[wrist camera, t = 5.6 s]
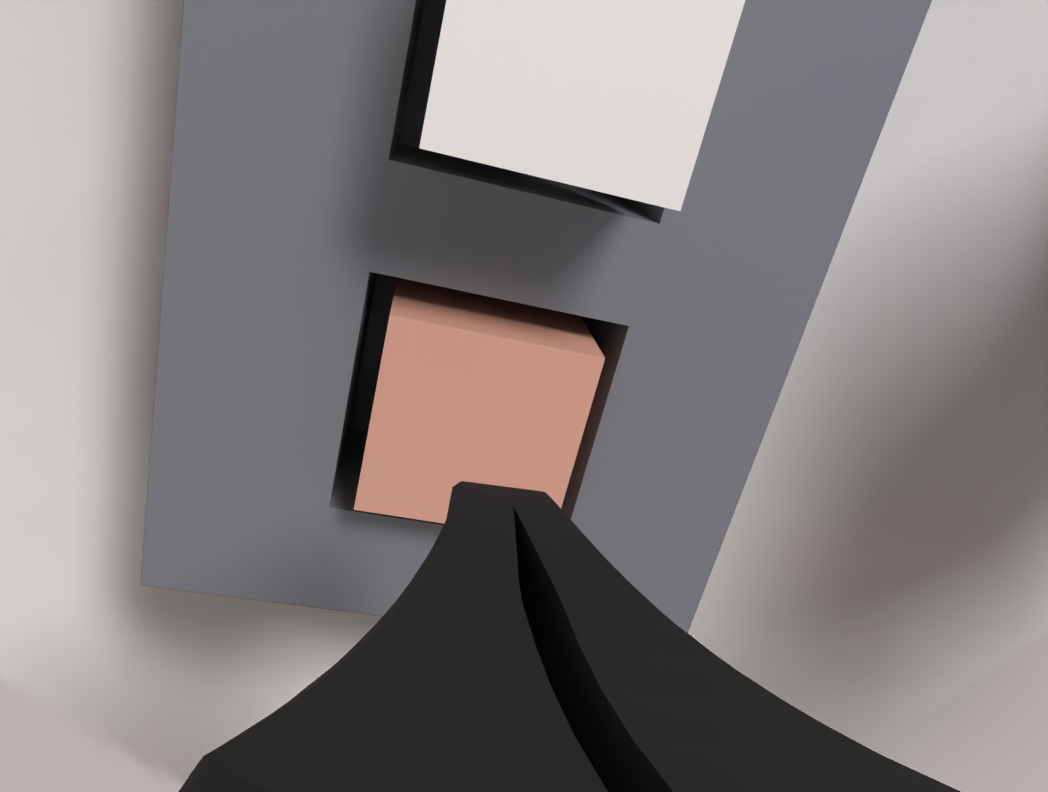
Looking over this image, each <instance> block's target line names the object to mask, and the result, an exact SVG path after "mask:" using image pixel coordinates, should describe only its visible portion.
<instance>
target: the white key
mask: <svg viewBox="0 0 1048 792" xmlns="http://www.w3.org/2000/svg"><path fill="white" fill-rule="evenodd" d="M744 3H745V0H446V5H445V10H444V16H443V21H442V27H441V32H440V38H439V43H438V49H437V54H436V59H435V65H434V70H433V76H432V81H431V87H430V92H429V98H428V103H427V108H426V114H425V119H424V125H423V130H422V136H421V141H420V147H419V148H420V149H424V150H428V151H433V152H437V153H441V154H445V155H449V156H453V157H457V158H462V159H466V160H470V161H474V162H478V163H482V164H486V165H490V166H495V167H499V168H503V169H507V170H511V171H515V172H519V173H524V174H528V175H532V176H536V177H540V178H544V179H548V180H553V181H557V182H561V183H565V184H569V185H573V186H577V187H582V188H586V189H590V190H594V191H598V192H602V193H606V194H610V195H615V196H619V197H623V198H627V199H631V200H635V201H639V202H644V203H648V204H652V205H656V206H660V207H664V208H668V209H673V210H677V211H681V208H682V204H683V201H684V198H685V195H686V191H687V188H688V185H689V182H690V178H691V175H692V172H693V169H694V165H695V162H696V159H697V156H698V152H699V149H700V146H701V143H702V139H703V136H704V133H705V130H706V126H707V123H708V120H709V117H710V114H711V110H712V107H713V104H714V101H715V97H716V94H717V91H718V88H719V84H720V81H721V78H722V75H723V71H724V68H725V65H726V62H727V58H728V55H729V52H730V49H731V45H732V42H733V39H734V36H735V32H736V29H737V26H738V23H739V19H740V16H741V13H742V10H743V7H744Z"/></svg>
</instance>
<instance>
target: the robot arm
mask: <svg viewBox="0 0 1048 792" xmlns="http://www.w3.org/2000/svg"><path fill="white" fill-rule="evenodd" d="M179 792H960V791H958V790H956V789H954V788H951V787H949V786H947V785H945V784H943V783H940V782H938V781H936V780H934V779H932V778H930V777H928V776H925V775H923V774H921V773H919V772H917V771H915V770H912V769H910V768H908V767H906V766H903V765H902V764H899V763H897V762H895V761H893V760H891V759H889V758H886V757H884V756H882V755H880V754H878V753H876V752H874V751H872V750H870V749H869V748H867V747H865V746H863V745H861V744H859V743H857V742H856V741H854V740H852V739H850V738H848V737H846V736H844V735H843V734H841V733H839V732H837V731H835V730H833V729H832V728H830V727H828V726H826V725H824V724H822V723H820V722H819V721H817V720H815V719H814V718H812V717H810V716H808V715H807V714H805V713H803V712H802V711H800V710H798V709H796V708H795V707H793V706H791V705H790V704H788V703H786V702H785V701H783V700H782V699H780V698H778V697H777V696H775V695H774V694H772V693H771V692H769V691H768V690H766V689H765V688H763V687H762V686H760V685H758V684H757V683H755V682H754V681H752V680H751V679H749V678H748V677H746V676H745V675H743V674H742V673H740V672H739V671H737V670H736V669H734V668H733V667H731V666H730V665H729V664H727V663H726V662H724V661H723V660H722V659H720V658H719V657H717V656H716V655H715V654H713V653H712V652H711V651H709V650H708V649H707V648H706V647H704V646H703V645H702V644H700V643H699V642H698V641H697V640H695V639H694V638H693V637H691V636H690V635H689V634H688V633H686V632H685V631H684V630H683V629H681V628H680V627H679V626H677V625H676V624H675V623H674V622H673V621H672V620H670V619H669V618H668V617H667V616H666V615H664V614H663V613H662V612H661V611H660V610H659V609H658V608H657V607H656V606H654V605H653V604H652V603H651V602H650V601H649V600H648V599H647V598H646V597H645V596H644V595H643V594H641V593H640V592H639V591H638V590H637V589H636V588H635V587H634V586H633V585H632V584H631V583H630V582H629V581H628V580H627V579H626V578H625V577H624V576H623V575H622V574H621V573H620V572H619V571H618V570H617V569H616V568H615V567H614V566H613V565H612V564H611V563H610V562H609V561H608V560H607V559H606V558H605V557H604V556H603V555H602V554H601V553H600V551H599V550H598V549H597V548H596V547H595V546H594V545H593V544H592V543H591V542H590V541H589V540H588V538H587V537H586V536H585V535H584V534H583V533H582V532H581V531H580V530H579V528H578V527H577V526H576V525H575V524H574V523H573V522H572V521H571V519H570V518H569V517H568V516H567V515H566V514H565V513H564V511H563V510H562V509H561V508H560V507H559V506H558V505H557V504H556V503H555V501H554V500H553V499H552V498H551V497H550V496H549V495H548V494H547V493H546V492H543V491H536V490H528V489H520V488H513V487H505V486H497V485H489V484H482V483H474V482H466V481H461V482H459V483H458V484H456V485H455V486H453V487H452V492H451V497H450V502H449V508H448V513H447V518H446V521H445V524H444V526H443V528H442V530H441V532H440V534H439V536H438V537H437V539H436V541H435V543H434V545H433V547H432V549H431V551H430V552H429V554H428V556H427V557H426V559H425V560H424V562H423V563H422V565H421V566H420V568H419V569H418V571H417V572H416V574H415V576H414V577H413V579H412V580H411V582H410V583H409V584H408V586H407V587H406V588H405V590H404V591H403V592H402V594H401V595H400V596H399V598H398V599H397V600H396V601H395V603H394V604H393V605H392V606H391V607H390V609H389V610H388V611H387V612H386V613H385V614H384V616H383V617H382V618H381V619H380V620H379V621H378V623H377V624H376V625H375V626H374V627H373V628H372V629H371V630H370V631H369V632H368V633H367V634H366V635H365V636H364V637H363V638H362V639H361V640H360V641H359V642H358V643H357V644H356V645H355V646H354V647H353V648H352V649H351V650H350V651H349V652H348V653H347V654H346V655H345V656H344V657H343V658H341V659H340V660H339V661H338V662H337V663H336V664H335V665H334V666H333V667H331V668H330V669H329V670H328V671H326V672H325V673H324V674H323V675H321V676H320V677H319V678H318V679H316V680H315V681H314V682H313V683H311V684H310V685H309V686H308V687H306V688H305V689H304V690H303V691H301V692H300V693H299V694H297V695H296V696H295V697H294V698H292V699H291V700H290V701H289V702H287V703H286V704H285V705H283V706H282V707H280V708H279V709H278V710H276V711H275V712H273V713H272V714H271V715H269V716H267V717H266V718H264V719H263V720H261V721H260V722H258V723H256V724H255V725H253V726H252V727H250V728H249V729H247V730H245V731H244V732H242V733H241V734H239V735H238V736H236V737H234V738H233V739H231V740H230V741H228V742H226V743H225V744H223V745H222V746H220V747H219V748H217V749H215V750H213V751H212V752H210V753H208V754H206V755H205V756H203V758H202V759H201V760H200V762H199V763H198V765H197V766H196V767H195V769H194V770H193V772H192V773H191V774H190V776H189V777H188V779H187V780H186V782H185V783H184V785H183V786H182V788H181V789H180V791H179Z"/></svg>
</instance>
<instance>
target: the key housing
mask: <svg viewBox="0 0 1048 792" xmlns="http://www.w3.org/2000/svg"><path fill="white" fill-rule="evenodd" d="M931 1H932V0H745V3H744V7H743V10H742V13H741V16H740V19H739V23H738V26H737V29H736V32H735V36H734V39H733V42H732V45H731V49H730V52H729V55H728V58H727V62H726V65H725V68H724V71H723V75H722V78H721V81H720V84H719V88H718V91H717V94H716V97H715V101H714V104H713V107H712V110H711V114H710V117H709V120H708V123H707V126H706V130H705V133H704V136H703V139H702V143H701V146H700V149H699V152H698V156H697V159H696V162H695V165H694V169H693V172H692V175H691V178H690V182H689V185H688V188H687V191H686V195H685V198H684V201H683V204H682V208H681V211H677V210H673V209H668V208H664V207H660V206H656V205H652V204H648V203H644V202H639V201H635V200H631V199H627V198H623V197H619V196H615V195H610V194H606V193H602V192H598V191H594V190H590V189H586V188H582V187H577V186H573V185H569V184H565V183H561V182H557V181H553V180H548V179H544V178H540V177H536V176H532V175H528V174H524V173H519V172H515V171H511V170H507V169H503V168H499V167H495V166H490V165H486V164H482V163H478V162H474V161H470V160H466V159H462V158H457V157H453V156H449V155H445V154H441V153H437V152H433V151H428V150H424V149H420V148H419V147H420V141H421V136H422V130H423V125H424V119H425V114H426V108H427V103H428V98H429V92H430V87H431V81H432V76H433V70H434V65H435V59H436V54H437V49H438V43H439V38H440V32H441V27H442V21H443V16H444V10H445V5H446V0H184V4H183V18H182V31H181V45H180V58H179V72H178V85H177V99H176V112H175V126H174V139H173V153H172V166H171V179H170V193H169V206H168V220H167V233H166V247H165V260H164V274H163V287H162V301H161V314H160V328H159V341H158V355H157V368H156V382H155V395H154V409H153V422H152V436H151V449H150V463H149V476H148V489H147V503H146V516H145V530H144V543H143V557H142V570H141V584H140V585H145V586H153V587H160V588H168V589H176V590H184V591H191V592H199V593H207V594H214V595H222V596H230V597H238V598H245V599H253V600H261V601H268V602H276V603H284V604H292V605H299V606H307V607H315V608H322V609H330V610H338V611H346V612H353V613H361V614H369V615H376V616H384V614H385V613H386V612H387V611H388V610H389V609H390V607H391V606H392V605H393V604H394V603H395V601H396V600H397V599H398V598H399V596H400V595H401V594H402V592H403V591H404V590H405V588H406V587H407V586H408V584H409V583H410V582H411V580H412V579H413V577H414V576H415V574H416V572H417V571H418V569H419V568H420V566H421V565H422V563H423V562H424V560H425V559H426V557H427V556H428V554H429V552H430V551H431V549H432V547H433V545H434V543H435V541H436V539H437V537H438V536H439V534H440V532H441V530H442V528H443V526H444V523H437V522H431V521H424V520H418V519H411V518H405V517H398V516H392V515H385V514H379V513H372V512H366V511H359V510H354V505H355V500H356V495H357V489H358V484H359V478H360V473H361V467H362V462H363V457H364V451H365V446H366V440H367V435H368V429H369V424H370V419H371V413H372V408H373V402H374V397H375V391H376V386H377V381H378V375H379V370H380V364H381V359H382V353H383V348H384V343H385V337H386V332H387V326H388V321H389V315H390V311H391V306H392V302H393V297H394V292H395V288H396V283H397V279H398V278H402V279H407V280H412V281H417V282H421V283H426V284H431V285H436V286H440V287H445V288H450V289H455V290H460V291H464V292H469V293H474V294H479V295H483V296H488V297H493V298H498V299H502V300H507V301H512V302H517V303H521V304H526V305H531V306H536V307H540V308H545V309H550V310H555V311H560V312H564V313H569V314H574V315H579V316H580V317H581V318H582V320H583V322H584V323H585V325H586V327H587V328H588V330H589V332H590V333H591V335H592V337H593V338H594V340H595V342H596V343H597V345H598V347H599V349H600V350H601V352H602V354H603V355H604V357H605V361H604V364H603V367H602V371H601V374H600V378H599V381H598V384H597V388H596V391H595V395H594V398H593V402H592V405H591V408H590V412H589V415H588V419H587V422H586V425H585V429H584V432H583V436H582V439H581V442H580V446H579V449H578V453H577V456H576V459H575V463H574V466H573V470H572V473H571V476H570V480H569V483H568V487H567V490H566V493H565V497H564V500H563V504H562V507H561V509H562V510H563V511H564V513H565V514H566V515H567V516H568V517H569V518H570V519H571V521H572V522H573V523H574V524H575V525H576V526H577V527H578V528H579V530H580V531H581V532H582V533H583V534H584V535H585V536H586V537H587V538H588V540H589V541H590V542H591V543H592V544H593V545H594V546H595V547H596V548H597V549H598V550H599V551H600V553H601V554H602V555H603V556H604V557H605V558H606V559H607V560H608V561H609V562H610V563H611V564H612V565H613V566H614V567H615V568H616V569H617V570H618V571H619V572H620V573H621V574H622V575H623V576H624V577H625V578H626V579H627V580H628V581H629V582H630V583H631V584H632V585H633V586H634V587H635V588H636V589H637V590H638V591H639V592H640V593H641V594H643V595H644V596H645V597H646V598H647V599H648V600H649V601H650V602H651V603H652V604H653V605H654V606H656V607H657V608H658V609H659V610H660V611H661V612H662V613H663V614H664V615H666V616H667V617H668V618H669V619H670V620H672V621H673V622H674V623H675V624H676V625H677V626H679V627H680V628H681V629H683V630H684V631H685V632H686V633H688V630H689V628H690V625H691V623H692V620H693V617H694V615H695V612H696V610H697V607H698V604H699V602H700V599H701V597H702V594H703V591H704V589H705V586H706V584H707V581H708V578H709V576H710V573H711V571H712V568H713V566H714V563H715V560H716V558H717V555H718V553H719V550H720V547H721V545H722V542H723V540H724V537H725V534H726V532H727V529H728V527H729V524H730V522H731V519H732V516H733V514H734V511H735V509H736V506H737V503H738V501H739V498H740V496H741V493H742V490H743V488H744V485H745V483H746V480H747V478H748V475H749V472H750V470H751V467H752V465H753V462H754V459H755V457H756V454H757V452H758V449H759V446H760V444H761V441H762V439H763V436H764V433H765V431H766V428H767V426H768V423H769V421H770V418H771V415H772V413H773V410H774V408H775V405H776V402H777V400H778V397H779V395H780V392H781V389H782V387H783V384H784V382H785V379H786V377H787V374H788V371H789V369H790V366H791V364H792V361H793V358H794V356H795V353H796V351H797V348H798V345H799V343H800V340H801V338H802V335H803V333H804V330H805V327H806V325H807V322H808V320H809V317H810V314H811V312H812V309H813V307H814V304H815V301H816V299H817V296H818V294H819V291H820V289H821V286H822V283H823V281H824V278H825V276H826V273H827V270H828V268H829V265H830V263H831V260H832V257H833V255H834V252H835V250H836V247H837V244H838V242H839V239H840V237H841V234H842V232H843V229H844V226H845V224H846V221H847V219H848V216H849V213H850V211H851V208H852V206H853V203H854V200H855V198H856V195H857V193H858V190H859V188H860V185H861V182H862V180H863V177H864V175H865V172H866V169H867V167H868V164H869V162H870V159H871V156H872V154H873V151H874V149H875V146H876V144H877V141H878V138H879V136H880V133H881V131H882V128H883V125H884V123H885V120H886V118H887V115H888V112H889V110H890V107H891V105H892V102H893V99H894V97H895V94H896V92H897V89H898V87H899V84H900V81H901V79H902V76H903V74H904V71H905V68H906V66H907V63H908V61H909V58H910V55H911V53H912V50H913V48H914V45H915V43H916V40H917V37H918V35H919V32H920V30H921V27H922V24H923V22H924V19H925V17H926V14H927V11H928V9H929V6H930V4H931Z"/></svg>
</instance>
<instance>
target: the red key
mask: <svg viewBox="0 0 1048 792" xmlns="http://www.w3.org/2000/svg"><path fill="white" fill-rule="evenodd" d="M604 361H605V357H604V355H603V354H602V352H601V350H600V349H599V347H598V345H597V343H596V342H595V340H594V338H593V337H592V335H591V333H590V332H589V330H588V328H587V327H586V325H585V323H584V322H583V320H582V318H581V317H580V316H579V315H574V314H569V313H564V312H560V311H555V310H550V309H545V308H540V307H536V306H531V305H526V304H521V303H517V302H512V301H507V300H502V299H498V298H493V297H488V296H483V295H479V294H474V293H469V292H464V291H460V290H455V289H450V288H445V287H440V286H436V285H431V284H426V283H421V282H417V281H412V280H407V279H402V278H398V279H397V283H396V288H395V292H394V297H393V302H392V306H391V311H390V315H389V321H388V326H387V332H386V337H385V343H384V348H383V353H382V359H381V364H380V370H379V375H378V381H377V386H376V391H375V397H374V402H373V408H372V413H371V419H370V424H369V429H368V435H367V440H366V446H365V451H364V457H363V462H362V467H361V473H360V478H359V484H358V489H357V495H356V500H355V505H354V510H359V511H366V512H372V513H379V514H385V515H392V516H398V517H405V518H411V519H418V520H424V521H431V522H437V523H444V524H445V521H446V518H447V513H448V508H449V502H450V497H451V492H452V487H453V486H455V485H456V484H458V483H459V482H461V481H466V482H474V483H482V484H489V485H497V486H505V487H513V488H520V489H528V490H536V491H543V492H546V493H547V494H548V495H549V496H550V497H551V498H552V499H553V500H554V501H555V503H556V504H557V505H558V506H559V507H560V508H561V507H562V504H563V500H564V497H565V493H566V490H567V487H568V483H569V480H570V476H571V473H572V470H573V466H574V463H575V459H576V456H577V453H578V449H579V446H580V442H581V439H582V436H583V432H584V429H585V425H586V422H587V419H588V415H589V412H590V408H591V405H592V402H593V398H594V395H595V391H596V388H597V384H598V381H599V378H600V374H601V371H602V367H603V364H604Z"/></svg>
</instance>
